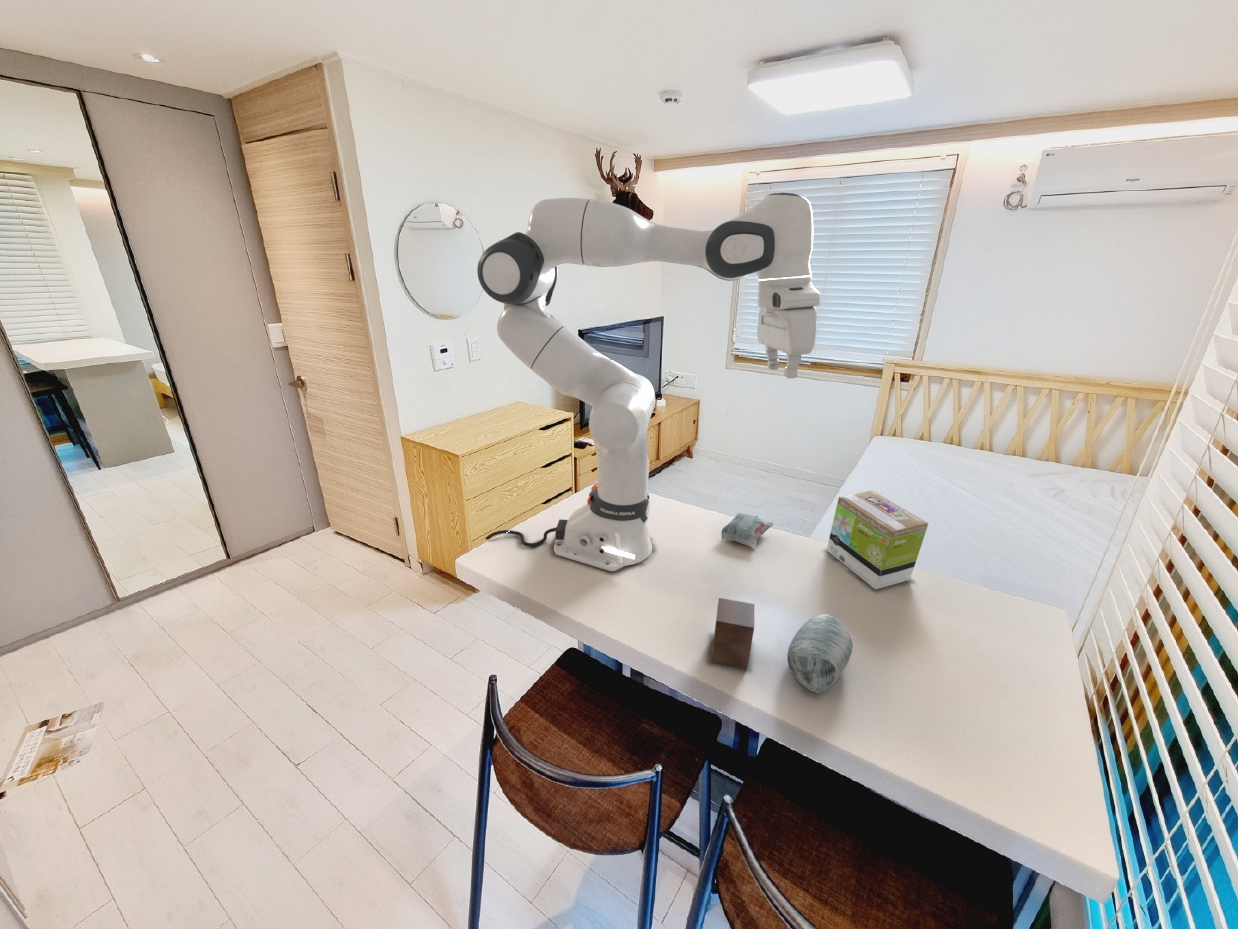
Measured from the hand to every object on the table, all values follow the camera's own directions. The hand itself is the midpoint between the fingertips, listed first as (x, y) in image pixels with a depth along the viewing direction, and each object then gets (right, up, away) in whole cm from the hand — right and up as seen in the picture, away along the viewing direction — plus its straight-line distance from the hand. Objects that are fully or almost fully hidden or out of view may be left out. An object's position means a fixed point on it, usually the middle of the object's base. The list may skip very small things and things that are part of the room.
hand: (781, 373), depth 94 cm
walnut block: (-11, -50, -7) cm, 51 cm away
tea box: (+24, -40, +17) cm, 50 cm away
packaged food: (0, -35, +27) cm, 44 cm away
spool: (+3, -52, -9) cm, 52 cm away
